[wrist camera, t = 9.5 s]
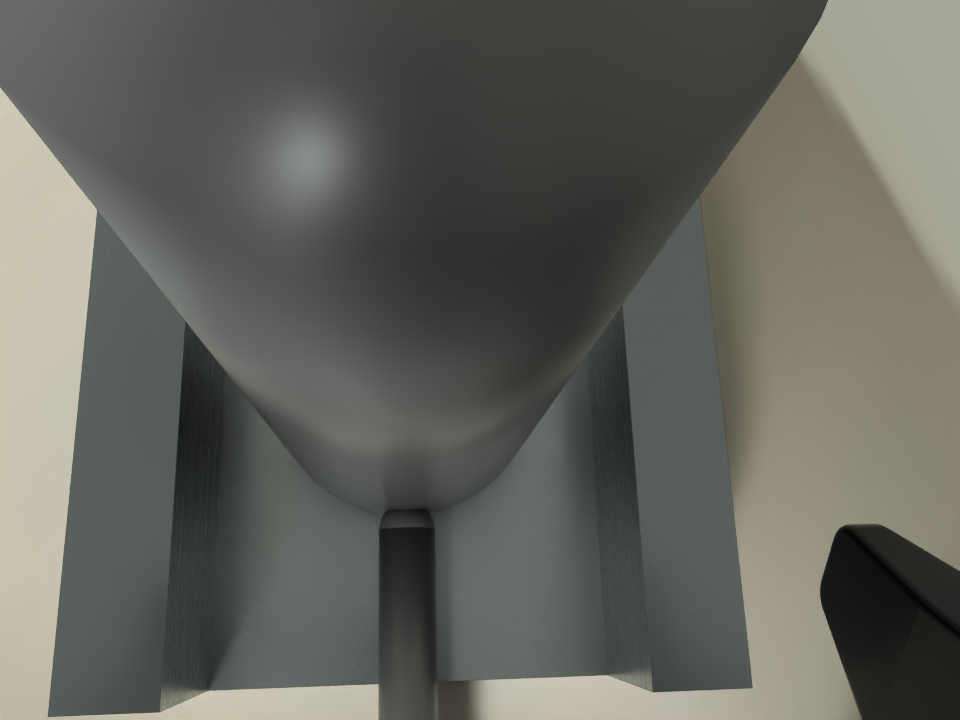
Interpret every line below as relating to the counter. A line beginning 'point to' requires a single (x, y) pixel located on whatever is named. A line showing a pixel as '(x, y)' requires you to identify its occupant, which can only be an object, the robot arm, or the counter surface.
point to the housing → (355, 531)
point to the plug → (397, 212)
